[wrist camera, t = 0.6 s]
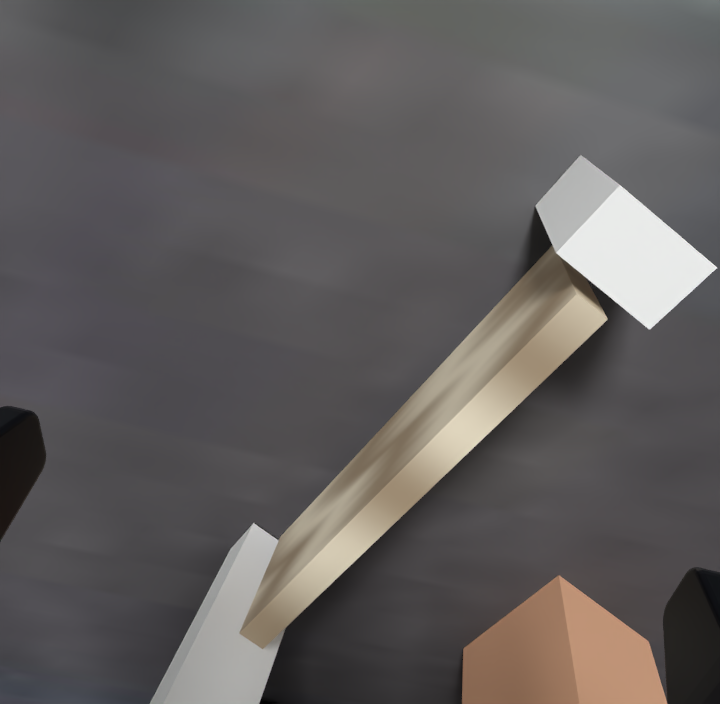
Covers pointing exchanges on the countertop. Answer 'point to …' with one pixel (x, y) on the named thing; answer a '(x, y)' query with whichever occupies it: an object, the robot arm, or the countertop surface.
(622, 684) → the doorstop block
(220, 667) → the twin post hurdle
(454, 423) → the gate
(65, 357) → the countertop surface
